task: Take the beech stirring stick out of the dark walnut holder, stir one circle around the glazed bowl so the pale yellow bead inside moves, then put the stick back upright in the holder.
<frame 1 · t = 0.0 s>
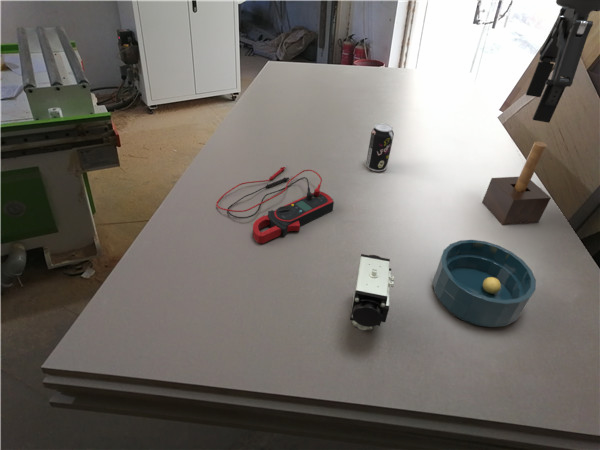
hand: (536, 107, 78), 27 cm above the table, tool pointing down, fingers open, 13 cm apart
bowl: (474, 295, 75), on the table
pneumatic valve: (365, 321, 69), on the table
bead: (491, 285, 74), point 2 cm above the table, touching bowl
holder: (509, 212, 97), on the table
stirring stick: (523, 180, 91), in the holder
digital clamp meter: (276, 203, 95), on the table
beverage can: (375, 168, 110), on the table
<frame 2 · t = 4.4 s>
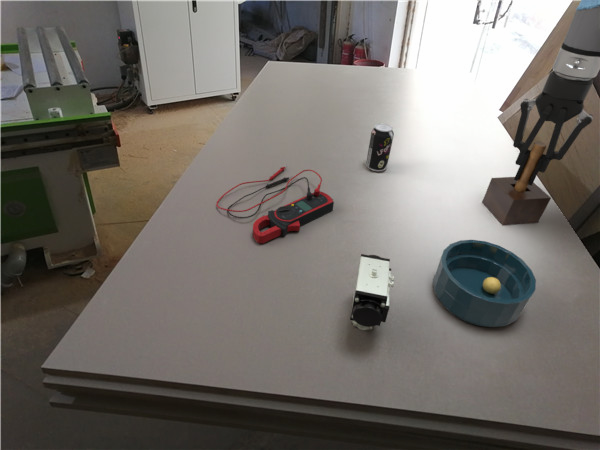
hand: (523, 180, 91), 9 cm above the table, tool pointing down, fingers closed on stirring stick, 2 cm apart
stirring stick: (523, 180, 91), in the holder, touching gripper
everything else where it was.
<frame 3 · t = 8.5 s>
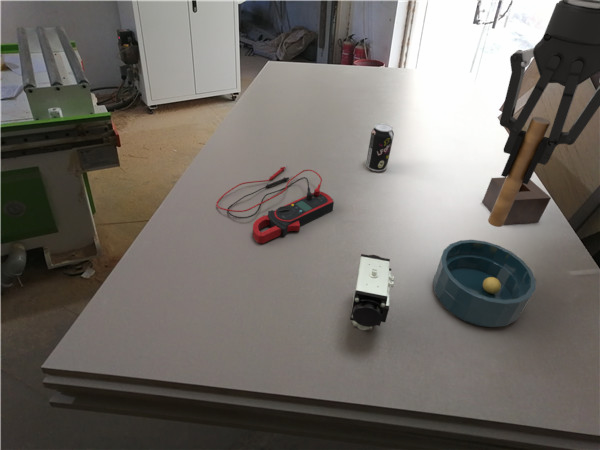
hand: (516, 176, 61), 24 cm above the table, tool pointing down, fingers closed on stirring stick, 2 cm apart
stirring stick: (516, 176, 61), point 24 cm above the table, touching gripper
everything else where it was.
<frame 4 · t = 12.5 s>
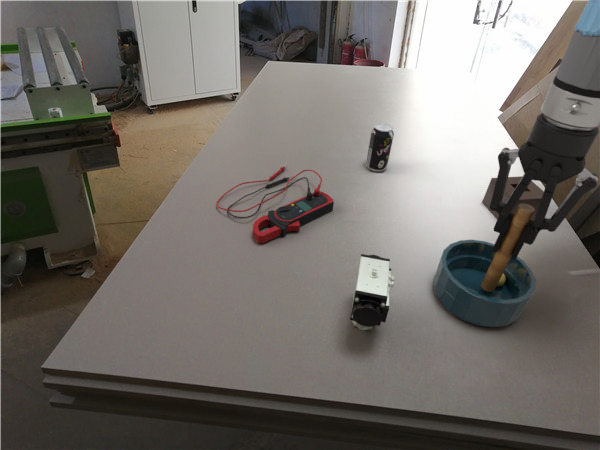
hand: (505, 250, 68), 11 cm above the table, tool pointing down, fingers closed on stirring stick, 2 cm apart
bead: (496, 278, 75), point 2 cm above the table, tilted 93°, touching bowl
stirring stick: (505, 250, 68), point 11 cm above the table, touching gripper
everything else where it was.
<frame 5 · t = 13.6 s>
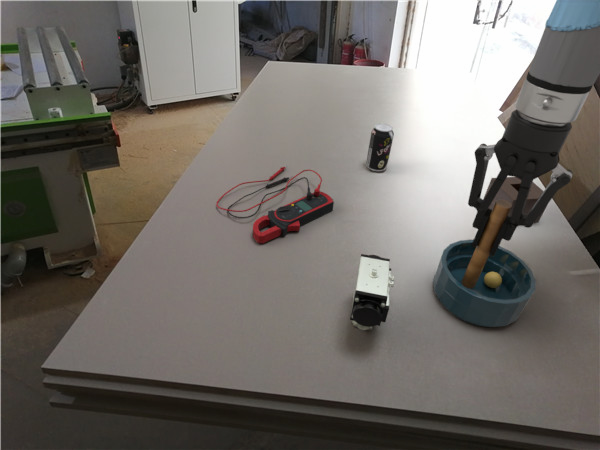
hand: (484, 246, 69), 11 cm above the table, tool pointing down, fingers closed on stirring stick, 2 cm apart
bead: (492, 279, 75), point 2 cm above the table, tilted 59°, touching bowl
stirring stick: (484, 246, 69), point 11 cm above the table, touching gripper
everything else where it was.
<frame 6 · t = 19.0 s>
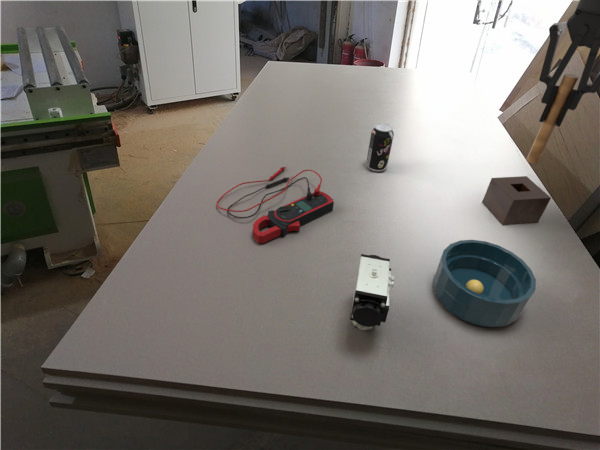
hand: (550, 121, 81), 24 cm above the table, tool pointing down, fingers closed on stirring stick, 2 cm apart
bead: (474, 287, 73), point 2 cm above the table, tilted 124°, touching bowl
stirring stick: (550, 121, 81), point 24 cm above the table, touching gripper
everything else where it was.
when the fingers open (9 cm above the table, at t = 23.2 s): stirring stick stays where it is, resting in holder.
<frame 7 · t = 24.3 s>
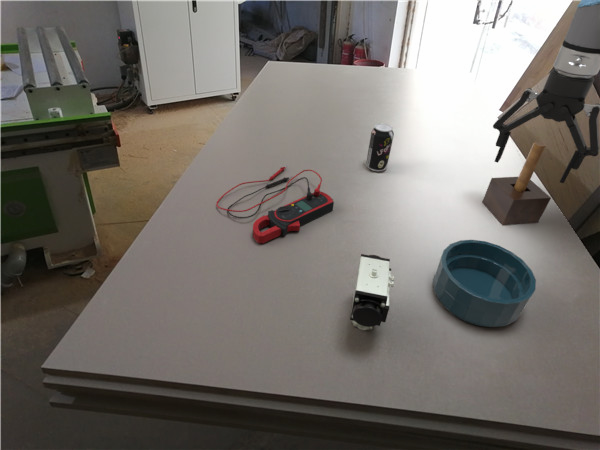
hand: (528, 169, 89), 12 cm above the table, tool pointing down, fingers open, 13 cm apart
bead: (459, 294, 72), point 2 cm above the table, tilted 98°, touching bowl
stirring stick: (523, 179, 91), in the holder
everything else where it was.
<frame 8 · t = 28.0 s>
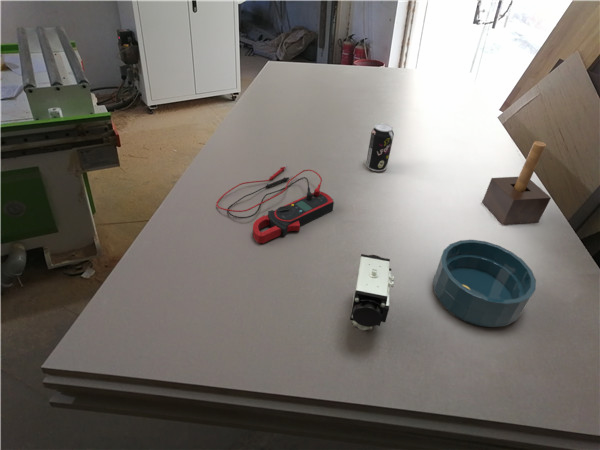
bead: (462, 293, 72), point 2 cm above the table, tilted 117°, touching bowl
everything else where it was.
at the end: bead moved 6.5 cm from its start; bead inside the target area in the bowl (4.1 cm from its centre), point 2.5 cm above the bowl's base; stirring stick 0.1 cm off-centre in the holder, point 9.0 cm above the holder's base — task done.
